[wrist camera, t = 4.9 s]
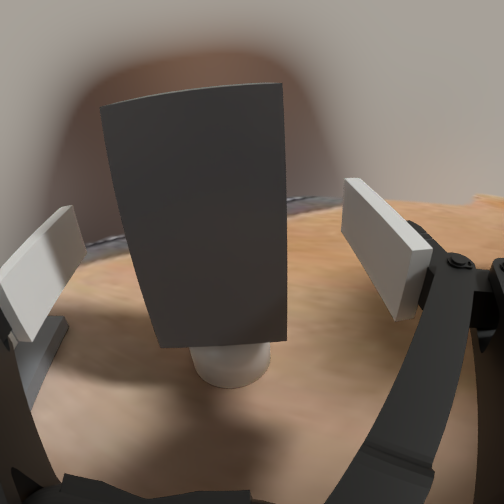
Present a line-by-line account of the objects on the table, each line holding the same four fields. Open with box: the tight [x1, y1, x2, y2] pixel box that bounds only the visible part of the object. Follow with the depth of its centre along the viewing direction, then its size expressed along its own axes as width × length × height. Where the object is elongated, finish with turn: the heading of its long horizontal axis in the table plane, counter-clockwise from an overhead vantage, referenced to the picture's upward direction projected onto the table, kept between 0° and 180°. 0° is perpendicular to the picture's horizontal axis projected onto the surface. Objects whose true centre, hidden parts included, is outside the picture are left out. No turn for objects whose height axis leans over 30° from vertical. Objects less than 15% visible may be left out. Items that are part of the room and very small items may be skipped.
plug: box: [100, 83, 287, 388], centre depth 14 cm, size 6×6×14 cm
